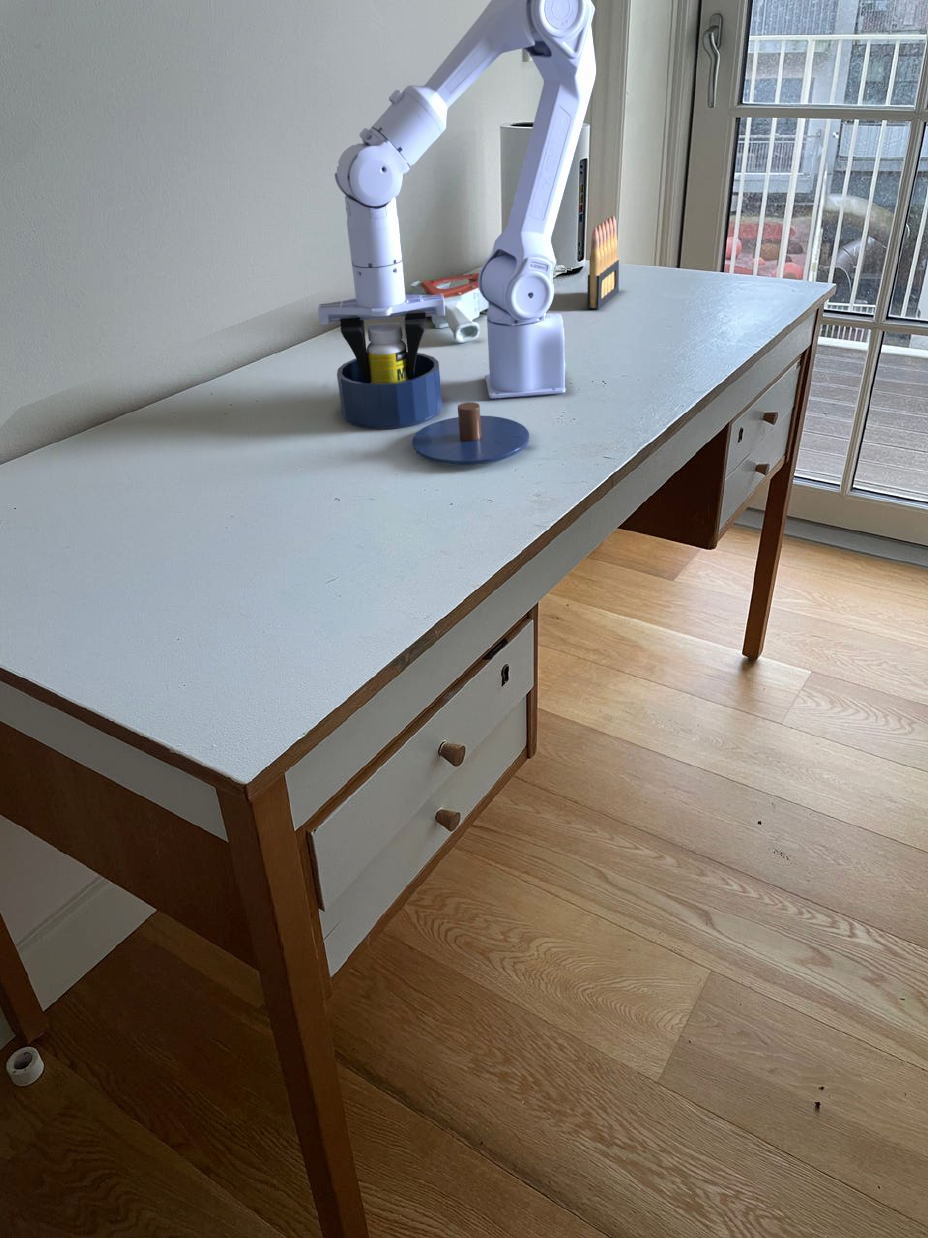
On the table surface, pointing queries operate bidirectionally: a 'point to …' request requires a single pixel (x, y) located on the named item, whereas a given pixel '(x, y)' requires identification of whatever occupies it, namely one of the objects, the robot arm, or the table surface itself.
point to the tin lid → (470, 438)
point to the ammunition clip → (603, 265)
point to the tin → (390, 396)
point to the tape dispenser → (456, 304)
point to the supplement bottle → (387, 354)
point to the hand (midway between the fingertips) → (389, 378)
